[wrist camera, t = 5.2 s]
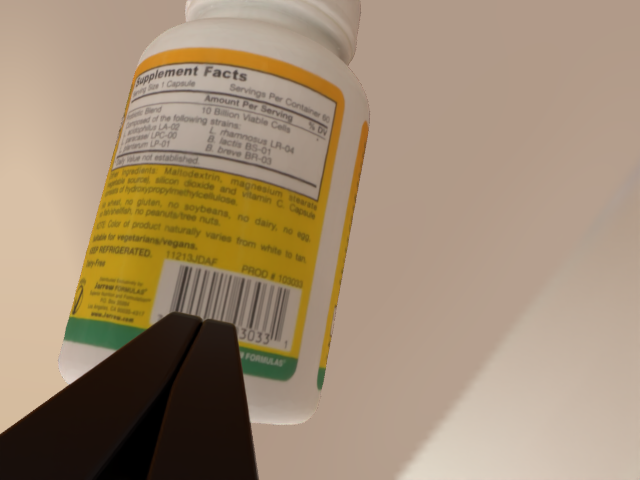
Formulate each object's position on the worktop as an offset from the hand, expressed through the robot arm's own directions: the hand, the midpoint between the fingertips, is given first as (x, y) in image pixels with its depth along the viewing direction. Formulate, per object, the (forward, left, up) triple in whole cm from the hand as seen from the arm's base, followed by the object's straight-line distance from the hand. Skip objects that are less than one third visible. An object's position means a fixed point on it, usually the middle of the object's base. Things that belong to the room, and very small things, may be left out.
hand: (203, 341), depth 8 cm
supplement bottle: (-1, 0, -5) cm, 5 cm away
